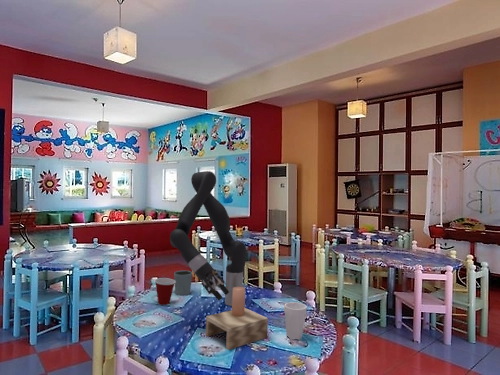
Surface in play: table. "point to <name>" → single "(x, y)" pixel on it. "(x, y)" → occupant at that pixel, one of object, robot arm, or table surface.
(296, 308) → the foam cup
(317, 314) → the table surface
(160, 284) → the plastic cup
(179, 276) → the drinking glass
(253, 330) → the wooden stand
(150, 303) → the table surface
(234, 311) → the tan dome-topped peg
